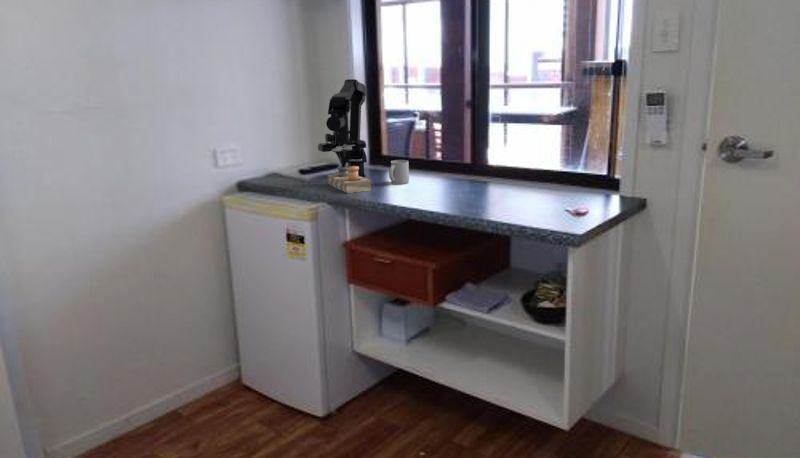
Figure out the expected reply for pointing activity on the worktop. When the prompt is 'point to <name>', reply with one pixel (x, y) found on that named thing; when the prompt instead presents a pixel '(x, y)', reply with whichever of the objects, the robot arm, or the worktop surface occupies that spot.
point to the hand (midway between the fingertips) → (343, 167)
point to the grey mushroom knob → (343, 171)
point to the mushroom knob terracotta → (353, 173)
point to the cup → (399, 172)
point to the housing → (349, 183)
